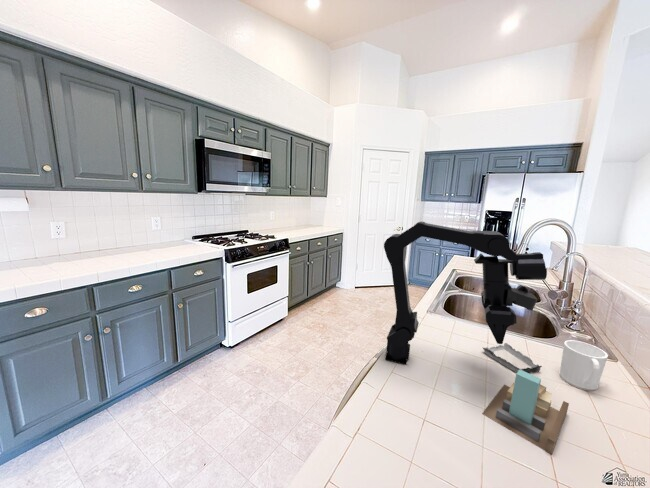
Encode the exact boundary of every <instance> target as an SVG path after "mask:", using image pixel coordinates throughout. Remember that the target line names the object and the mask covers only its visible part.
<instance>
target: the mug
mask: <svg viewBox="0 0 650 488" xmlns="http://www.w3.org/2000/svg"><path fill="white" fill-rule="evenodd" d="M608 358H609V355H608V353H607V352H606V351H604V350H603V349H601V348H600V347H598V346H595V345H593V344H590V343H587V342H584V341H580V340H576V339H575V340H574V339H569V340H568V339H567V340H565V341H564V342H563V349H562V355H561V362H560V367H559V376H560V378H561V380H562V381H564V382H565V383H567V384H568V385H570V386H572V387H575V388H577V389H580V390H584V391H588V392H593V391H596V390H598V387H599V383H600V382H601V378H602V375H603V372H604V370H605V369H604V368H605V366H606V363H607V360H608Z"/></svg>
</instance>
